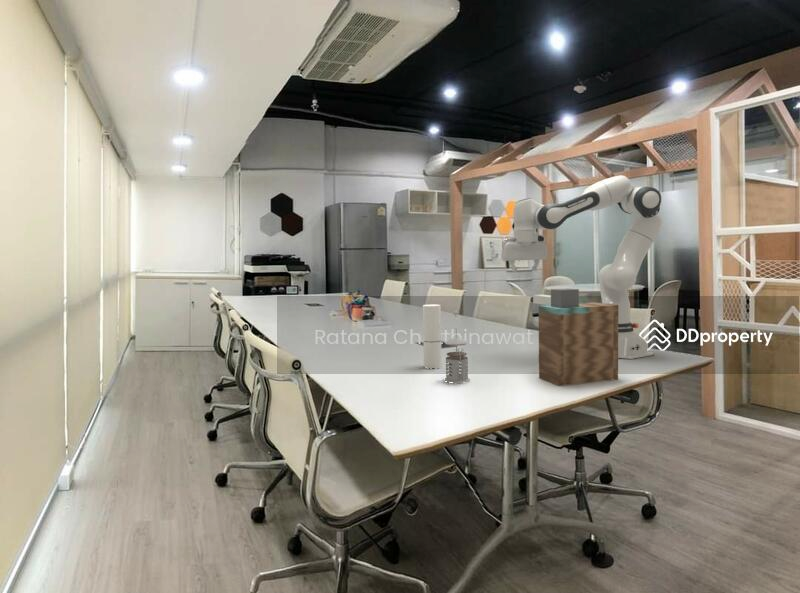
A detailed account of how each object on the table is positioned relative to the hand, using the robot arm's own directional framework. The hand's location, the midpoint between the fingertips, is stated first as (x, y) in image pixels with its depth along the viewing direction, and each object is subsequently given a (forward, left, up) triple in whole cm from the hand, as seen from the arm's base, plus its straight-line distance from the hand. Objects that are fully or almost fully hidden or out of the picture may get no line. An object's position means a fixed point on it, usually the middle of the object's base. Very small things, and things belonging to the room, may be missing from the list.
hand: (524, 271), depth 221 cm
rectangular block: (+8, +33, -11) cm, 36 cm away
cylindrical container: (+42, 0, -37) cm, 56 cm away
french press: (+42, +25, -37) cm, 62 cm away
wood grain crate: (+2, +39, -37) cm, 54 cm away
